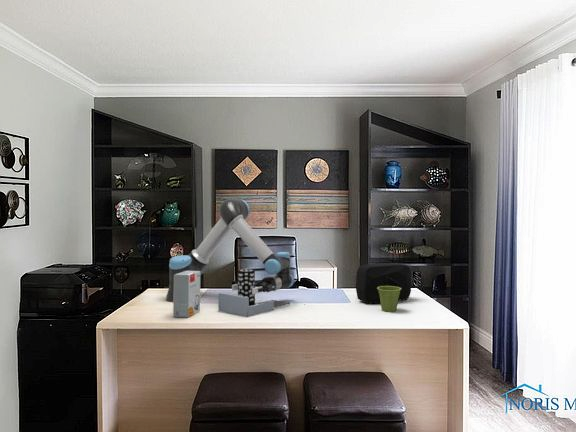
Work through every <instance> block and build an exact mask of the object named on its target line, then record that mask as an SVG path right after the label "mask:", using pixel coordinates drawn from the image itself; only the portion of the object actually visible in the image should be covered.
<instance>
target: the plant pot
mask: <svg viewBox="0 0 576 432" xmlns="http://www.w3.org/2000/svg"><path fill="white" fill-rule="evenodd" d="M377 289H378V291H379V295H380V302H381V303H380V308H381V311H383V312H388V313H391V312H396V311H397V310H398V309H397V308H398V303H399V301H398V298H399V294H400V290H401V288H400V287H395V286H380V287H377Z"/></svg>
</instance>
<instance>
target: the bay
mask: <svg viewBox="0 0 576 432" xmlns="http://www.w3.org/2000/svg"><path fill="white" fill-rule="evenodd" d="M268 301H269V300H268ZM264 302H265V301H264ZM274 310H275V308H274V301H269V302H265V303H261V304H255V305H252V306H249V297H243V296H238V294H236V295H235V294H232V293H225V292H218V312H220V313H221V312H222V313H225V314H230V315H236V316H241V317H245V318H249V317H252V316H253V317H254V316H257V315H260V314H264V313H269V312H273V311H274Z"/></svg>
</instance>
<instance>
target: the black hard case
mask: <svg viewBox="0 0 576 432" xmlns="http://www.w3.org/2000/svg"><path fill="white" fill-rule="evenodd" d="M380 286H395V287H400V288H401V290H400V294H399V298H398V302H401V301H406V300H408V299H409V298H410V295H411V294H412V293H411V292H412V273H411V267H410V266H408V265H407V264H403V263H399V262H398V263H397V262H384V263H371V264H368V263H367V264H363V265H359V266H358V267H357V270H356V276H355V292H356V295H357V296H356V297H357V300H359V301H360V302H363V303H366V304H371V305H372V304H381V302H380V295H379V291H378V289H377V287H380Z"/></svg>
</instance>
